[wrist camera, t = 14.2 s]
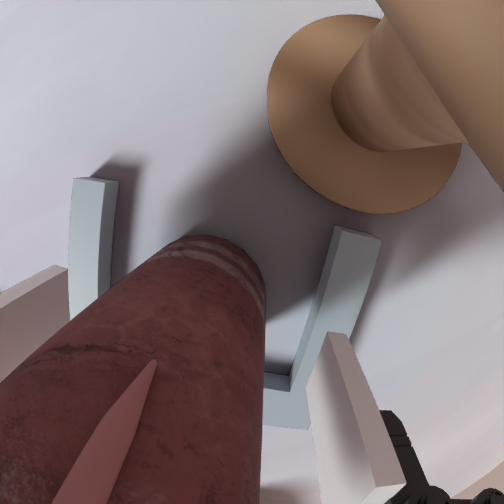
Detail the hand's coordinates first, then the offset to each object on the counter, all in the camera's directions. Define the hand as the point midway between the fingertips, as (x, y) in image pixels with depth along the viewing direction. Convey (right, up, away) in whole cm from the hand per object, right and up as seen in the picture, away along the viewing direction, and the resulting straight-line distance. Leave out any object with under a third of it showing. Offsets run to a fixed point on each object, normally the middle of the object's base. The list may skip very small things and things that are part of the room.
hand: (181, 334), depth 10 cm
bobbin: (+8, +10, +2) cm, 13 cm away
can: (0, +1, +5) cm, 5 cm away
